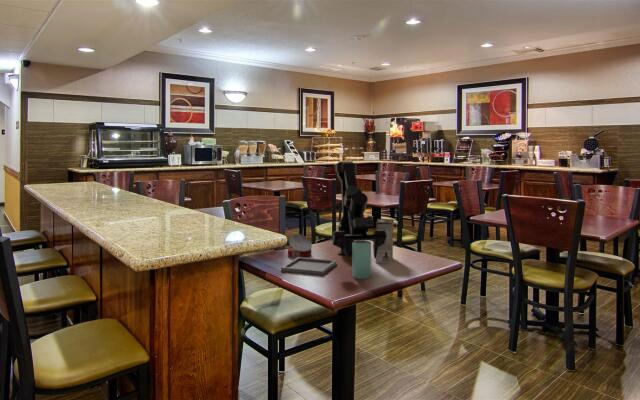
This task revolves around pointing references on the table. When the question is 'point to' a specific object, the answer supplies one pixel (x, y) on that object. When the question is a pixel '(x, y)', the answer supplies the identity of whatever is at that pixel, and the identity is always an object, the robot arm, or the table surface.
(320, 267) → the tray
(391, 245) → the coffee box
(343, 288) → the table surface
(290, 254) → the canned food
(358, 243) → the green rounded cylinder
